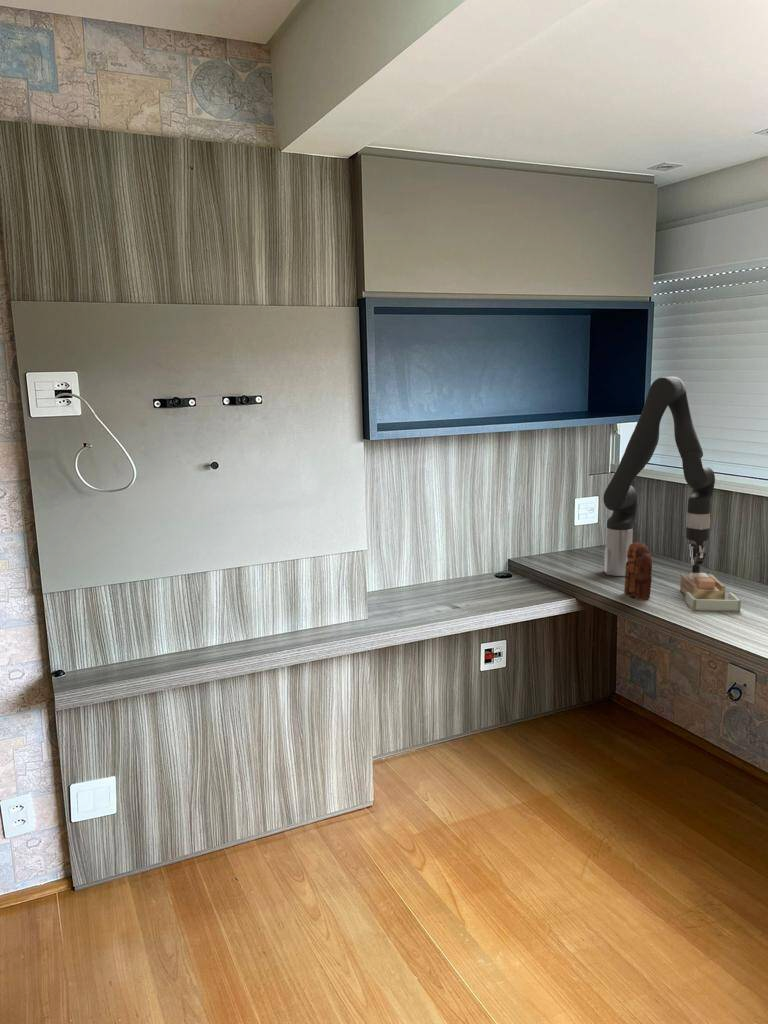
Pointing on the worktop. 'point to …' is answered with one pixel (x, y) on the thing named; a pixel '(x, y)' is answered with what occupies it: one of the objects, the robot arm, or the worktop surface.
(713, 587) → the tile
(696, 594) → the wooden u-channel
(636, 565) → the wooden figurine
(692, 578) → the tile
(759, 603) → the worktop surface
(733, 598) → the tray
